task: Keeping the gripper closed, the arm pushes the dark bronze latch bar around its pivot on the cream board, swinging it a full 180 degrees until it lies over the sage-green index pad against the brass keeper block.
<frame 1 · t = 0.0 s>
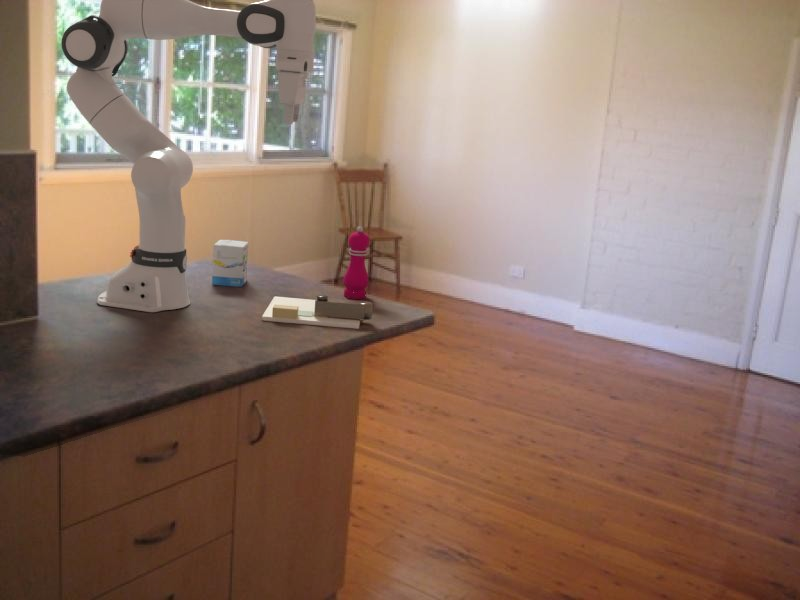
hand: (291, 122, 211), 48 cm above the worktop, fingers open, 8 cm apart
ink box: (229, 283, 249), on the worktop
pepper mill: (354, 296, 247), on the worktop
latch board: (314, 313, 226), on the worktop
latch bar: (343, 307, 221), point 4 cm above the worktop, hinge at 0.0°
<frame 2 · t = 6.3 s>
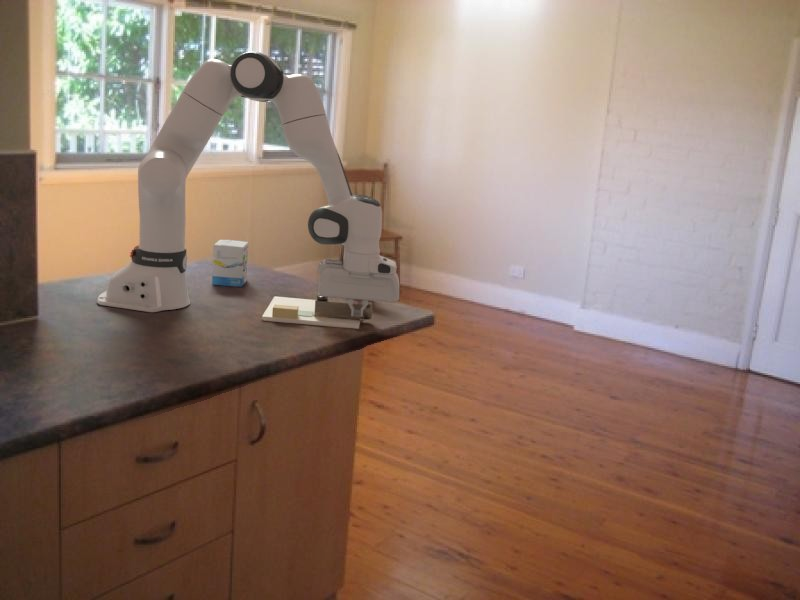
hand: (356, 316, 219), 2 cm above the worktop, fingers closed, pressing on latch bar
latch bar: (343, 307, 221), point 4 cm above the worktop, hinge at 0.8°, touching gripper
everything else where it was.
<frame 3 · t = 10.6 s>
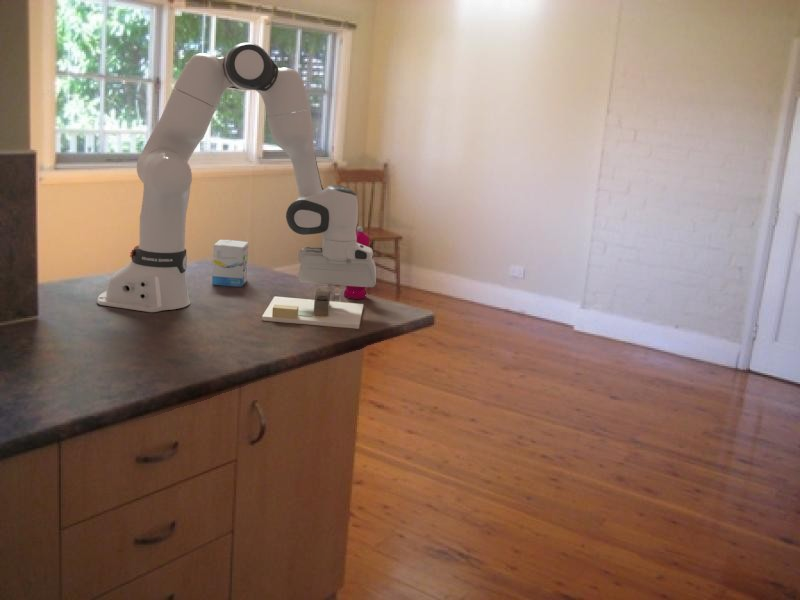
hand: (336, 300, 230), 3 cm above the worktop, fingers closed
latch bar: (322, 299, 226), point 4 cm above the worktop, hinge at 93.3°, touching gripper
everything else where it was.
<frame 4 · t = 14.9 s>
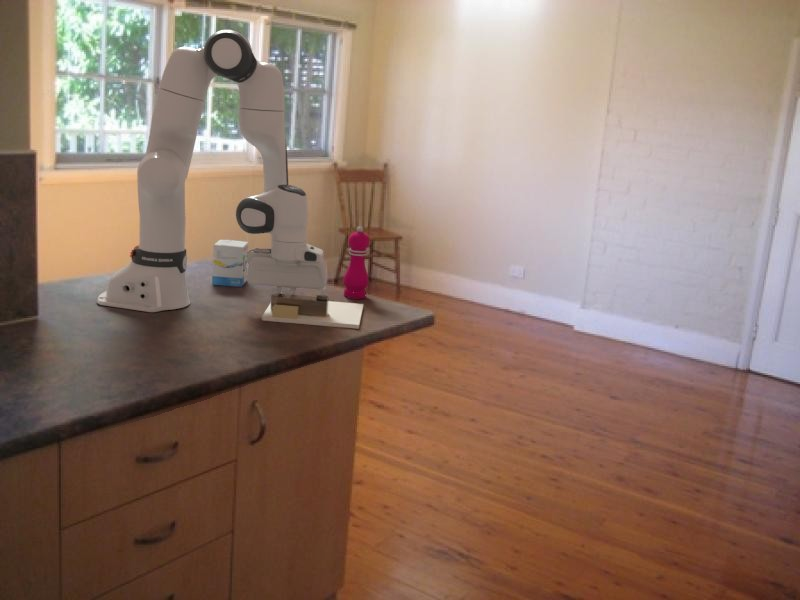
hand: (286, 303, 224), 3 cm above the worktop, fingers closed, pressing on latch bar
latch bar: (299, 303, 221), point 4 cm above the worktop, hinge at 179.0°, touching gripper
everything else where it was.
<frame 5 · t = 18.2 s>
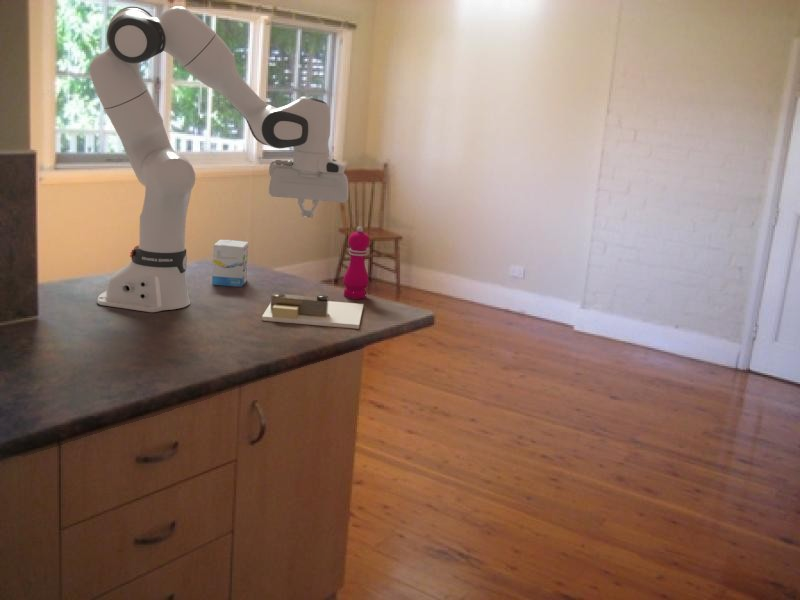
hand: (307, 216, 225), 24 cm above the worktop, fingers closed
latch bar: (299, 303, 221), point 4 cm above the worktop, hinge at 179.0°
everything else where it was.
at the end: latch bar at +179° (first picture: +0°) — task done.
